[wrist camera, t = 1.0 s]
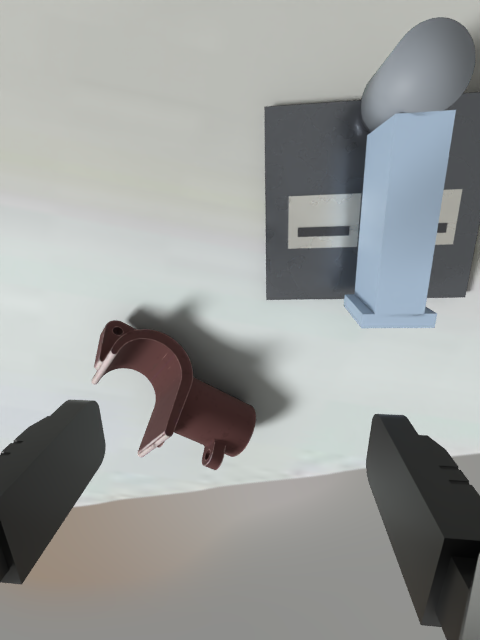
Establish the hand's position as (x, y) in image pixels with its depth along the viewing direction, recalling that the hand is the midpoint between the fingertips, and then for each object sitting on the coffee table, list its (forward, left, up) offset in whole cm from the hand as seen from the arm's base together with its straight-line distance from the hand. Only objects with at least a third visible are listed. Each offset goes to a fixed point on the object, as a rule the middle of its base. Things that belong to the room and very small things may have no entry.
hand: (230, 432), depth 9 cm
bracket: (+11, -9, -24) cm, 27 cm away
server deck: (-6, +10, -23) cm, 26 cm away
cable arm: (-7, +10, -19) cm, 23 cm away
